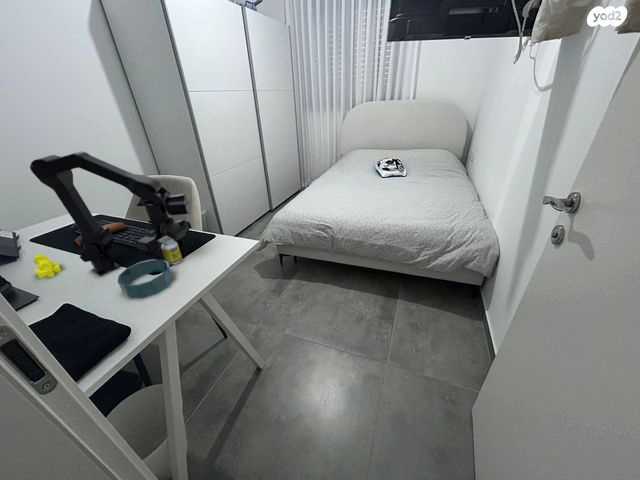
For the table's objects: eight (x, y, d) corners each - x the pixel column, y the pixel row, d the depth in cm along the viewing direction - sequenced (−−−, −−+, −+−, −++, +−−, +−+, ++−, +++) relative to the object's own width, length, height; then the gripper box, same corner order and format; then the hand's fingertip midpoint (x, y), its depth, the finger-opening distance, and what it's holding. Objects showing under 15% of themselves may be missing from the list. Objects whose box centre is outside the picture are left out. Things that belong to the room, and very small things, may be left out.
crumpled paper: (40, 280, 88) (27, 261, 85) (36, 272, 93) (24, 254, 89) (63, 272, 92) (51, 254, 89) (58, 264, 97) (46, 246, 93)
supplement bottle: (176, 265, 95) (168, 242, 90) (163, 264, 96) (154, 241, 91) (185, 257, 99) (178, 235, 94) (173, 256, 100) (165, 234, 95)
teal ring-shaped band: (115, 289, 84) (109, 276, 81) (157, 266, 94) (153, 255, 92) (139, 304, 78) (133, 291, 75) (182, 278, 88) (177, 266, 86)
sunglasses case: (119, 224, 125) (117, 215, 120) (127, 234, 124) (126, 225, 119) (73, 240, 112) (69, 230, 107) (82, 251, 111) (79, 242, 106)
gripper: (152, 231, 78) (168, 272, 86) (197, 208, 93) (207, 245, 101) (126, 226, 82) (144, 266, 89) (173, 205, 97) (185, 241, 105)
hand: (172, 254), depth 96 cm, fingers open, 9 cm apart
